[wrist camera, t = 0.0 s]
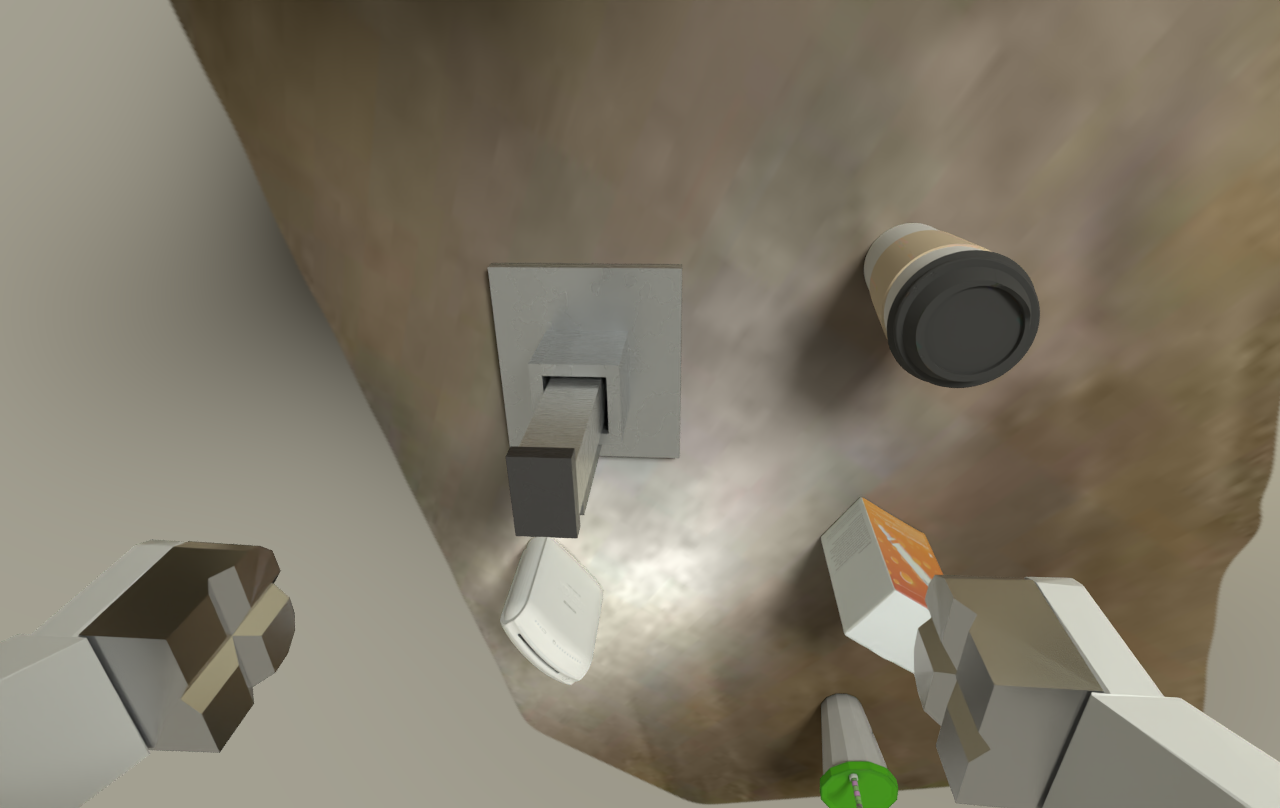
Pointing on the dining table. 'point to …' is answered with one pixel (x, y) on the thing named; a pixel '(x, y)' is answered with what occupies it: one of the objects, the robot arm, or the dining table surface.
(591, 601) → the photo printer
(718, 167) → the dining table surface
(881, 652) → the small box
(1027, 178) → the dining table surface
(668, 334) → the stand base
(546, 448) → the column
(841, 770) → the cup
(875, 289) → the coffee cup
